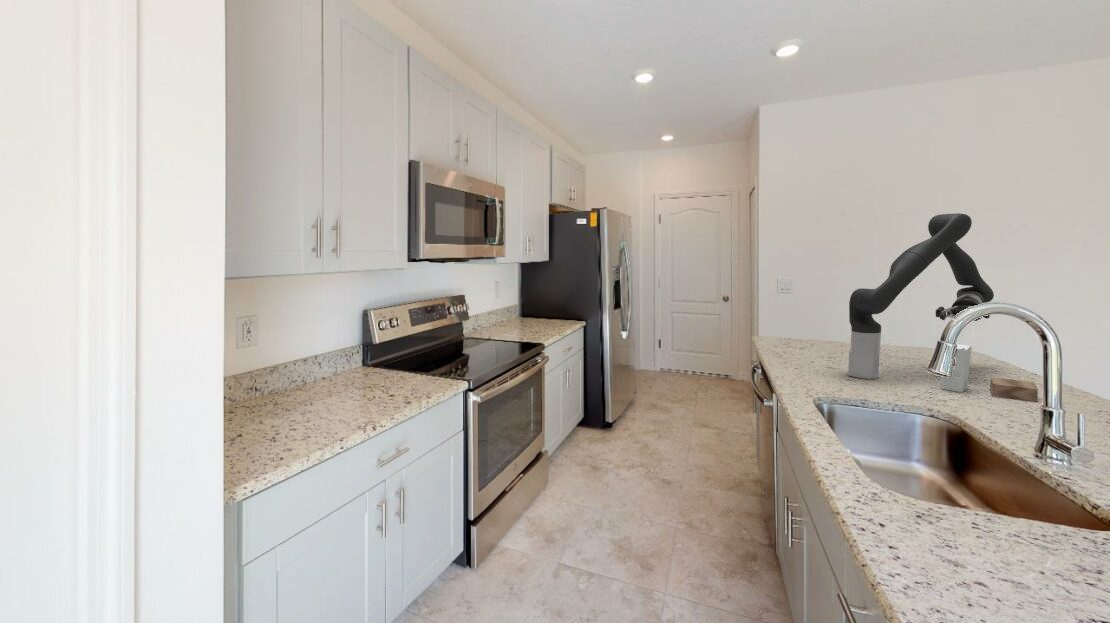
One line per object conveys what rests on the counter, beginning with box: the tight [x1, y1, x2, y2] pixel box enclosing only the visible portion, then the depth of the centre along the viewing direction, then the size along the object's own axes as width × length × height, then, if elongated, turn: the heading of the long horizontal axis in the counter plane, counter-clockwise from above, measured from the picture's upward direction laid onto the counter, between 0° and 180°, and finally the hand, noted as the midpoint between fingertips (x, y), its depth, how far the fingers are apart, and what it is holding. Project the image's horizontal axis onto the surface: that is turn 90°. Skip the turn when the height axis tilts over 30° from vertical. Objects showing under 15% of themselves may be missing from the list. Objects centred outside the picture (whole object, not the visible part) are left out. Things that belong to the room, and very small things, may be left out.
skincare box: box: [940, 343, 972, 393], centre depth 154 cm, size 8×6×15 cm
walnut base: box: [989, 377, 1039, 403], centre depth 146 cm, size 10×10×4 cm
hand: (958, 317), depth 158 cm, fingers open, 8 cm apart
